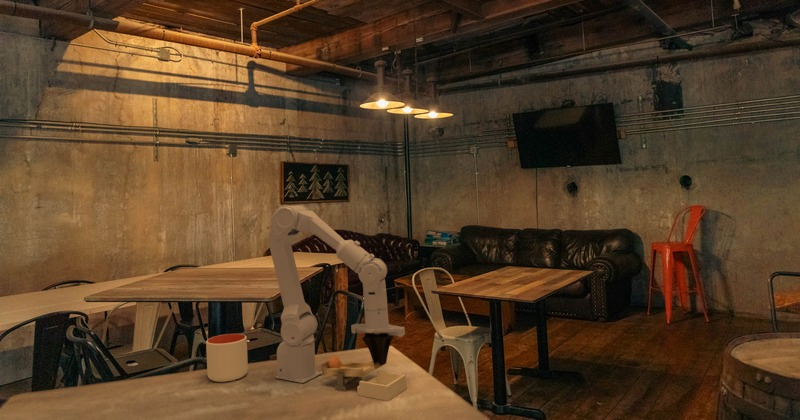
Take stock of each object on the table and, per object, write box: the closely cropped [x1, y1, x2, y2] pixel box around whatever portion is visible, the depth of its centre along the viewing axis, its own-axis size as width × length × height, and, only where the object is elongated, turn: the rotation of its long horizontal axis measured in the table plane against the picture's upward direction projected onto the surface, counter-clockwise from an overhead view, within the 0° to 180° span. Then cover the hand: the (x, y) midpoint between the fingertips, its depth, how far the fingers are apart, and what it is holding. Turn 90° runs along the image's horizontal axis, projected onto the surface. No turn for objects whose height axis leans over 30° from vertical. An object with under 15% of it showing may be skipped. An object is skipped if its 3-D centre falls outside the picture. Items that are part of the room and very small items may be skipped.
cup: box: [205, 333, 249, 383], centre depth 132 cm, size 10×10×10 cm
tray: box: [356, 370, 407, 402], centre depth 118 cm, size 8×8×3 cm
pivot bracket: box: [334, 372, 363, 392], centre depth 123 cm, size 3×7×4 cm, turn 150°
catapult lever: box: [320, 360, 387, 378], centre depth 125 cm, size 12×10×3 cm
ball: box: [328, 356, 342, 368], centre depth 125 cm, size 3×3×3 cm
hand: (379, 363), depth 125 cm, fingers closed, pressing on catapult lever
